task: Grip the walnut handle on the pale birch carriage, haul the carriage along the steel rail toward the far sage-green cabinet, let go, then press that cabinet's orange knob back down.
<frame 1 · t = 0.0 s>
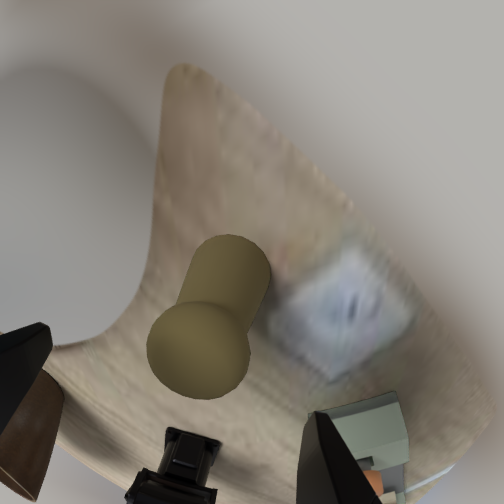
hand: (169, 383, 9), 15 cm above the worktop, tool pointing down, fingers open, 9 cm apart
orange knob: (363, 478, 21), point 8 cm above the worktop, slide at 1.6 cm
plant pot: (43, 383, 34), on the worktop
rail bench: (368, 466, 32), on the worktop
cork: (230, 271, 24), on the worktop
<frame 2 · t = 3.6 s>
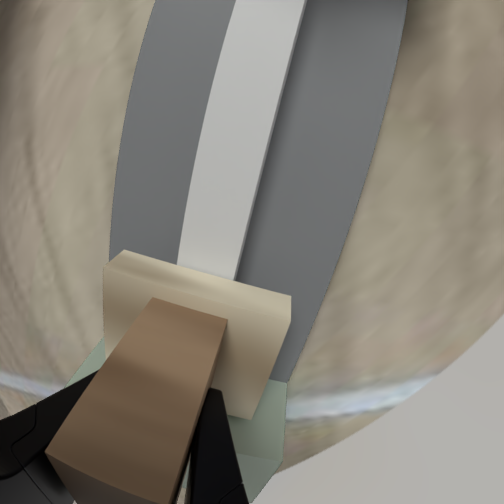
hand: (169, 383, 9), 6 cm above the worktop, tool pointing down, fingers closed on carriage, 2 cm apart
carriage: (160, 403, 8), point 7 cm above the worktop, slide at 0.0 cm, touching gripper
rail bench: (246, 135, 12), on the worktop
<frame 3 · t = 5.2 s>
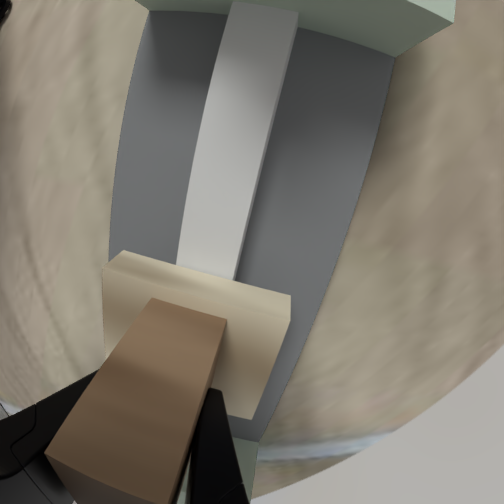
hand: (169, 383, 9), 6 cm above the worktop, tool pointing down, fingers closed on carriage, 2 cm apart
carriage: (160, 403, 8), point 7 cm above the worktop, slide at 5.7 cm, touching gripper
rail bench: (216, 265, 14), on the worktop
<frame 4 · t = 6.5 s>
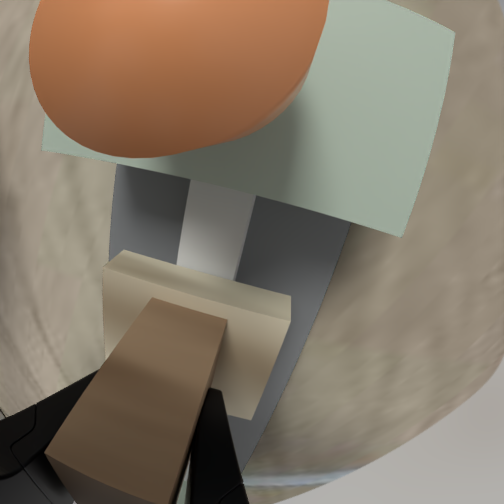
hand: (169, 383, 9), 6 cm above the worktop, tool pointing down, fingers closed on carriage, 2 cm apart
orange knob: (204, 44, 4), point 8 cm above the worktop, slide at 1.6 cm
carriage: (160, 403, 8), point 7 cm above the worktop, slide at 10.9 cm, touching gripper
rail bench: (199, 352, 16), on the worktop
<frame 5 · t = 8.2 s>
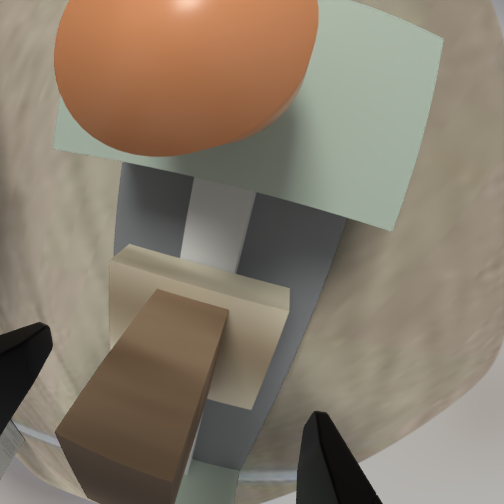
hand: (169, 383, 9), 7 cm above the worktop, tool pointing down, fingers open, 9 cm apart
orange knob: (209, 54, 4), point 8 cm above the worktop, slide at 1.6 cm
skincare box: (0, 413, 27), on the worktop
carriage: (164, 390, 9), point 7 cm above the worktop, slide at 10.9 cm
rail bench: (200, 347, 16), on the worktop
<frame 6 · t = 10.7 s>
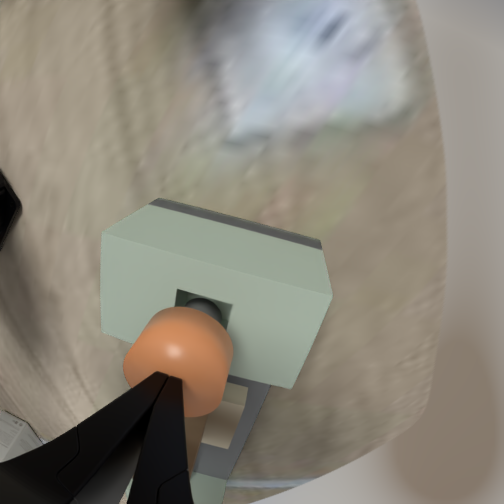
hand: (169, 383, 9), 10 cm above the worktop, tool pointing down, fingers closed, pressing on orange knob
orange knob: (188, 345, 11), point 8 cm above the worktop, slide at 1.6 cm, touching gripper
skincare box: (28, 431, 33), on the worktop
carriage: (176, 445, 15), point 7 cm above the worktop, slide at 10.9 cm
rail bench: (197, 401, 23), on the worktop
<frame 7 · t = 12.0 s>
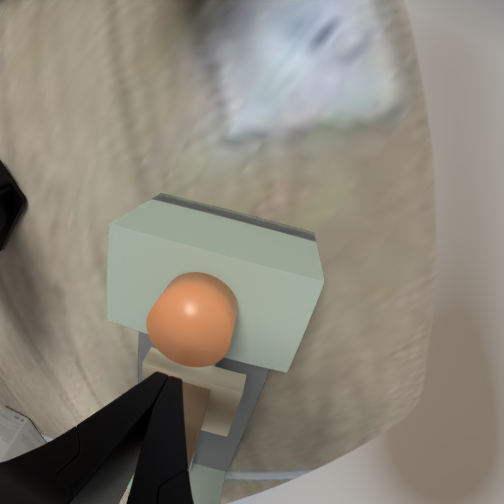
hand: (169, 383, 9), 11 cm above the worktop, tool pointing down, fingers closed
orange knob: (200, 306, 13), point 6 cm above the worktop, slide at 0.0 cm
skincare box: (29, 427, 34), on the worktop
carriage: (177, 431, 16), point 7 cm above the worktop, slide at 10.9 cm
rail bench: (196, 391, 23), on the worktop
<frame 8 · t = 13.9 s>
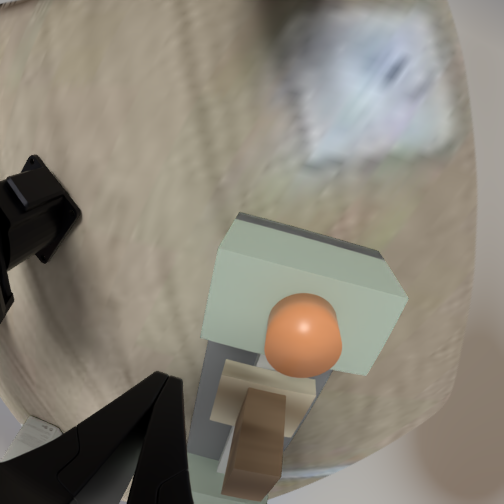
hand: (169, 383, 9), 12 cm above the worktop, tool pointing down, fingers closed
orange knob: (302, 323, 14), point 6 cm above the worktop, slide at 0.0 cm
skincare box: (56, 435, 35), on the worktop
carriage: (255, 436, 17), point 7 cm above the worktop, slide at 10.9 cm
rail bench: (253, 397, 25), on the worktop
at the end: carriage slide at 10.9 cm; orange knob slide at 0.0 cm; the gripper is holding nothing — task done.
